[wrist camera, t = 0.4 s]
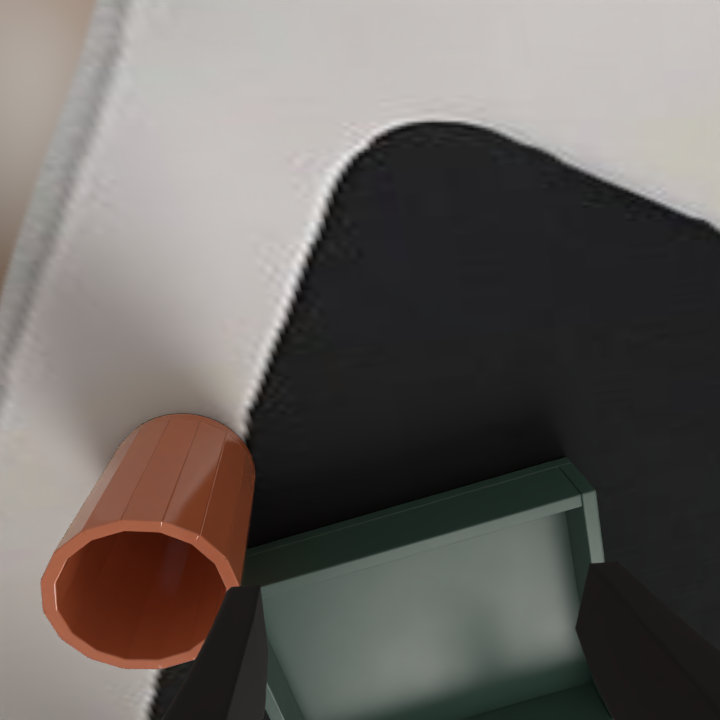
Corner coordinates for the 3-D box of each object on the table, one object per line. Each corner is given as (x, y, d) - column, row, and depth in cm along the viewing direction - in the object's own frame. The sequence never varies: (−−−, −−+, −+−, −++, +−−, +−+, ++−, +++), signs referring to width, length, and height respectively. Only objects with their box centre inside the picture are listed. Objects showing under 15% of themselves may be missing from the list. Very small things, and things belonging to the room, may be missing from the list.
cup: (148, 546, 23) (92, 689, 17) (90, 435, 21) (4, 552, 15) (273, 510, 23) (264, 640, 17) (228, 396, 21) (198, 496, 15)
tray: (314, 759, 28) (315, 814, 26) (220, 555, 23) (211, 600, 21) (599, 677, 28) (625, 724, 26) (566, 455, 23) (596, 489, 21)
